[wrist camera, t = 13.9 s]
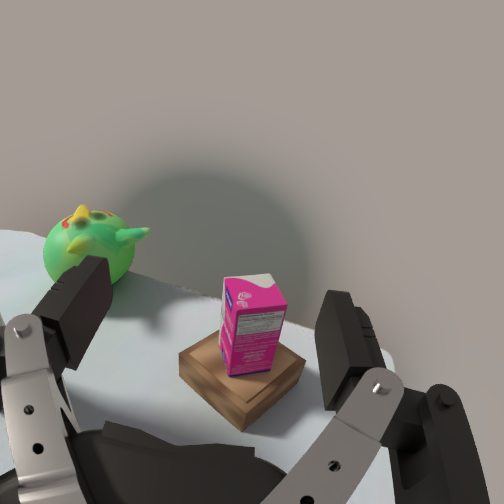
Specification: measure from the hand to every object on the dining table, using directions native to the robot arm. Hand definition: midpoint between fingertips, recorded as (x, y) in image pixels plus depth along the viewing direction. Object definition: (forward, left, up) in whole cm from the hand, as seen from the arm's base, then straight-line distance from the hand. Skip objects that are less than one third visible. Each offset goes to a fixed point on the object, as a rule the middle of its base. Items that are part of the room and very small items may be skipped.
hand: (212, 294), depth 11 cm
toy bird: (-43, +11, -30) cm, 53 cm away
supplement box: (-10, +16, -25) cm, 31 cm away
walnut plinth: (-10, +17, -30) cm, 36 cm away
